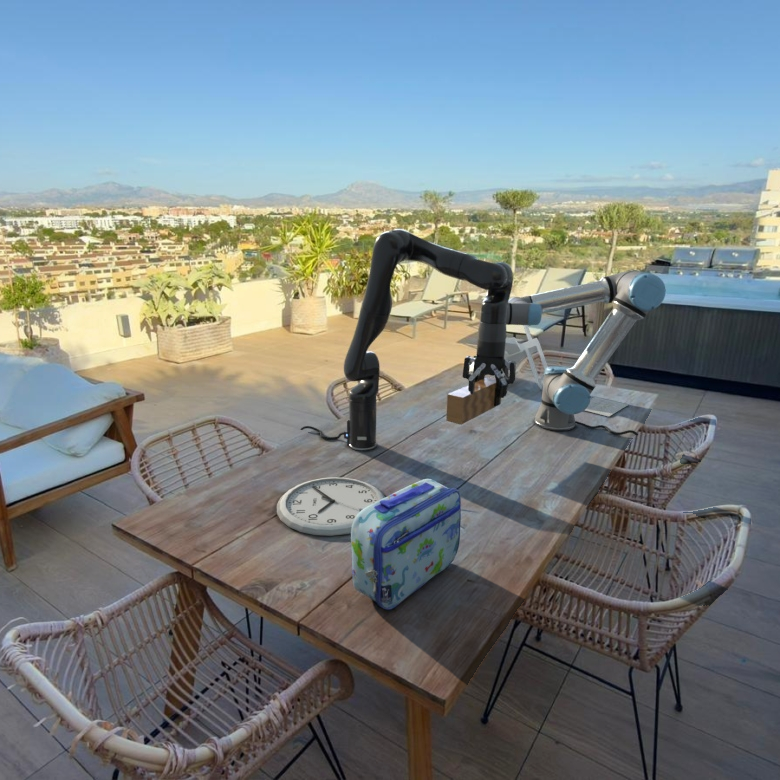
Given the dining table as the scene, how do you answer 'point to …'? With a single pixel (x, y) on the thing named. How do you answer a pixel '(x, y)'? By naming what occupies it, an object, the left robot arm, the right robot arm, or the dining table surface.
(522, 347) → the white plastic object
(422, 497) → the lunch box
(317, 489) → the wall clock
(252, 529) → the dining table surface
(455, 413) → the bar
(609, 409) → the invitation card
